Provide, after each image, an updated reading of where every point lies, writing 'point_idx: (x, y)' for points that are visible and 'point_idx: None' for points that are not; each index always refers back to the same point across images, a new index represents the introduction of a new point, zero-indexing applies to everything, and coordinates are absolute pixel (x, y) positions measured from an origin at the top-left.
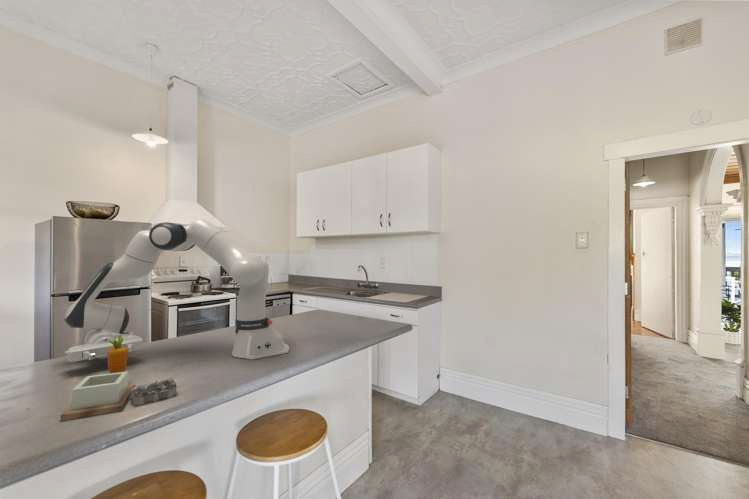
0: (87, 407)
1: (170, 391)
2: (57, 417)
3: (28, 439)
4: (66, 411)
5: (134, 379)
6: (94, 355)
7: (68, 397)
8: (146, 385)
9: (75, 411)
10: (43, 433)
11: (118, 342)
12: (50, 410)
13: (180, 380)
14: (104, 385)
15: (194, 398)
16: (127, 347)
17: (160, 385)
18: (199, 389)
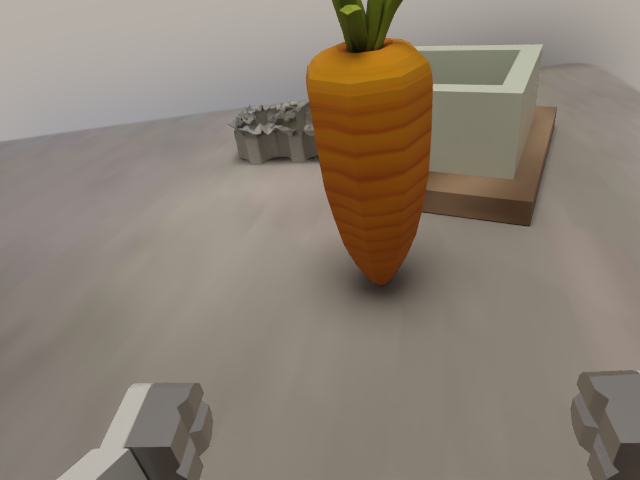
0: None
1: (272, 111)
2: (573, 143)
3: (601, 97)
4: (546, 114)
5: (291, 297)
6: (585, 380)
7: (605, 253)
8: (310, 132)
9: None
10: (575, 103)
11: (355, 3)
12: (628, 183)
13: (173, 198)
14: (444, 46)
15: (239, 113)
16: (157, 402)
17: (281, 112)
18: (194, 136)
